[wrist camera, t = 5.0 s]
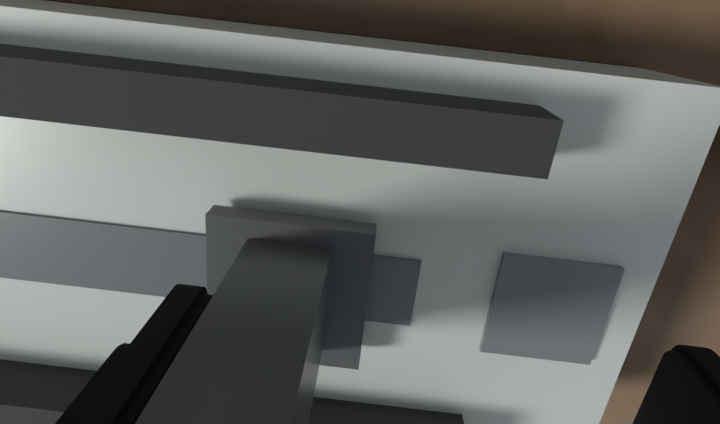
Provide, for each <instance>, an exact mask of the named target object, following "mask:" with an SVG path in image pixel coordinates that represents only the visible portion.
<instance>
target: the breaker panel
mask: <svg viewBox="0 0 720 424" xmlns="http://www.w3.org/2000/svg"><path fill="white" fill-rule="evenodd" d="M0 44H8V45H17V46H25V47H34V48H43V49H52V50H60V51H69V52H78V53H87V54H95V55H104V56H113V57H122V58H130V59H139V60H148V61H157V62H165V63H174V64H183V65H192V66H200V67H209V68H218V69H227V70H235V71H244V72H253V73H262V74H270V75H279V76H288V77H296V78H305V79H314V80H323V81H331V82H340V83H349V84H358V85H366V86H375V87H384V88H393V89H401V90H410V91H419V92H428V93H436V94H445V95H454V96H463V97H471V98H480V99H489V100H498V101H506V102H515V103H524V104H533V105H540V106H541V107H543V108H545V109H546V110H548V111H549V112H551V113H553V114H554V115H556V116H557V117H559V118H560V119H562V120H564V122H563V125H562V129H561V133H560V136H559V140H558V144H557V147H556V151H555V155H554V158H553V162H552V166H551V169H550V173H549V177H548V179H540V178H531V177H522V176H514V175H505V174H496V173H488V172H479V171H470V170H462V169H453V168H445V167H436V166H427V165H419V164H410V163H401V162H393V161H384V160H375V159H367V158H358V157H349V156H341V155H332V154H323V153H315V152H306V151H298V150H289V149H280V148H272V147H263V146H254V145H246V144H237V143H228V142H220V141H211V140H202V139H194V138H185V137H176V136H168V135H159V134H150V133H142V132H133V131H125V130H116V129H107V128H99V127H90V126H81V125H73V124H64V123H55V122H47V121H38V120H29V119H21V118H12V117H3V116H0V359H3V360H11V361H19V362H28V363H36V364H44V365H53V366H61V367H69V368H78V369H86V370H94V371H98V369H99V368H100V367H101V366H102V364H103V363H104V362H105V361H106V359H107V358H108V357H109V356H110V354H111V353H112V352H113V351H114V350H115V349H116V348H117V347H118V346H119V345H121V344H123V343H129V344H130V343H131V342H132V340H133V339H134V338H135V337H136V335H137V334H138V333H139V331H140V330H141V329H142V328H143V326H144V325H145V324H146V322H147V321H148V320H149V318H150V317H151V316H152V315H153V313H154V312H155V311H156V309H157V308H158V307H159V305H160V304H161V303H162V302H163V300H164V299H165V298H166V296H167V295H168V294H169V292H170V291H171V290H172V289H173V287H174V286H175V285H176V284H186V285H194V286H203V287H205V288H206V289H207V259H206V220H205V214H206V213H207V212H208V211H209V210H210V209H211V208H212V206H213V205H220V206H228V207H237V208H245V209H254V210H263V211H271V212H280V213H288V214H297V215H305V216H314V217H323V218H331V219H340V220H348V221H357V222H365V223H374V224H377V226H376V239H375V247H374V254H373V262H372V270H371V277H370V285H369V293H368V300H367V308H366V316H365V323H364V331H363V339H362V347H361V354H360V362H359V370H356V369H348V368H340V367H331V366H323V365H319V370H318V376H317V381H316V386H315V391H314V397H320V398H328V399H336V400H345V401H353V402H362V403H370V404H378V405H387V406H395V407H403V408H412V409H420V410H428V411H437V412H445V413H453V414H462V416H463V421H464V424H599V422H600V420H601V417H602V415H603V413H604V410H605V408H606V405H607V403H608V400H609V398H610V395H611V393H612V390H613V388H614V385H615V383H616V380H617V378H618V375H619V373H620V370H621V368H622V365H623V363H624V360H625V358H626V355H627V353H628V350H629V348H630V346H631V343H632V341H633V338H634V336H635V333H636V331H637V328H638V326H639V323H640V321H641V318H642V316H643V313H644V311H645V308H646V306H647V303H648V301H649V298H650V296H651V293H652V291H653V288H654V286H655V284H656V281H657V279H658V276H659V274H660V271H661V269H662V266H663V264H664V261H665V259H666V256H667V254H668V251H669V249H670V246H671V244H672V241H673V239H674V236H675V234H676V231H677V229H678V226H679V224H680V221H681V219H682V217H683V214H684V212H685V209H686V207H687V204H688V202H689V199H690V197H691V194H692V192H693V189H694V187H695V184H696V182H697V179H698V177H699V174H700V172H701V169H702V167H703V164H704V162H705V159H706V157H707V155H708V152H709V150H710V147H711V145H712V142H713V140H714V137H715V135H716V132H717V130H718V127H719V125H720V86H717V85H713V84H709V83H704V82H700V81H696V80H691V79H687V78H683V77H678V76H674V75H670V74H665V73H661V72H657V71H652V70H648V69H644V68H636V67H627V66H618V65H609V64H601V63H592V62H583V61H574V60H565V59H557V58H548V57H539V56H530V55H521V54H513V53H504V52H495V51H486V50H477V49H469V48H460V47H451V46H442V45H433V44H425V43H416V42H407V41H398V40H389V39H381V38H372V37H363V36H354V35H345V34H336V33H328V32H319V31H310V30H301V29H292V28H284V27H275V26H266V25H257V24H248V23H240V22H231V21H222V20H213V19H204V18H196V17H187V16H178V15H169V14H160V13H152V12H143V11H134V10H125V9H116V8H108V7H99V6H90V5H81V4H72V3H64V2H55V1H46V0H0Z"/></svg>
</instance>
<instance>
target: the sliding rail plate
mask: <svg viewBox="0 0 720 424" xmlns="http://www.w3.org/2000/svg"><path fill="white" fill-rule="evenodd" d="M0 116H3V117H12V118H21V119H29V120H38V121H47V122H55V123H64V124H73V125H81V126H90V127H99V128H107V129H116V130H125V131H133V132H142V133H150V134H159V135H168V136H176V137H185V138H194V139H202V140H211V141H220V142H228V143H237V144H246V145H254V146H263V147H272V148H280V149H289V150H298V151H306V152H315V153H323V154H332V155H341V156H349V157H358V158H367V159H375V160H384V161H393V162H401V163H410V164H419V165H427V166H436V167H445V168H453V169H462V170H470V171H479V172H488V173H496V174H505V175H514V176H522V177H531V178H540V179H548V177H549V173H550V169H551V166H552V162H553V158H554V155H555V151H556V147H557V144H558V140H559V136H560V133H561V129H562V125H563V122H564V120H562V119H560V118H559V117H557V116H556V115H554V114H553V113H551V112H549V111H548V110H546V109H545V108H543V107H541V106H540V105H533V104H524V103H515V102H506V101H498V100H489V99H480V98H471V97H463V96H454V95H445V94H436V93H428V92H419V91H410V90H401V89H393V88H384V87H375V86H366V85H358V84H349V83H340V82H331V81H323V80H314V79H305V78H296V77H288V76H279V75H270V74H262V73H253V72H244V71H235V70H227V69H218V68H209V67H200V66H192V65H183V64H174V63H165V62H157V61H148V60H139V59H130V58H122V57H113V56H104V55H95V54H87V53H78V52H69V51H60V50H52V49H43V48H34V47H25V46H17V45H8V44H0ZM96 372H97V371H94V370H86V369H78V368H69V367H61V366H53V365H44V364H36V363H28V362H19V361H11V360H3V359H0V424H55V423H56V422H57V420H58V419H59V418H60V417H61V415H62V414H63V413H64V412H65V410H66V409H67V408H68V407H69V405H70V404H71V403H72V402H73V400H74V399H75V398H76V397H77V395H78V394H79V393H80V392H81V391H82V389H83V388H84V387H85V386H86V384H87V383H88V382H89V381H90V379H91V378H92V377H93V376H94V374H95V373H96ZM308 424H464V421H463V416H462V414H453V413H445V412H437V411H428V410H420V409H412V408H403V407H395V406H387V405H378V404H370V403H362V402H353V401H345V400H336V399H328V398H320V397H313V402H312V407H311V412H310V417H309V423H308Z"/></svg>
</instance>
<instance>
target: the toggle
mask: <svg viewBox="0 0 720 424" xmlns="http://www.w3.org/2000/svg"><path fill="white" fill-rule="evenodd" d="M205 220H206V259H207V294H210V295H213V296H212V298H211V300H210V301H209V303H208V305H207V306H206V308H205V309H204V311H203V313H202V314H201V316H200V318H199V319H198V321H197V323H196V324H195V326H194V327H193V329H192V331H191V332H190V334H189V336H188V337H187V339H186V341H185V342H184V344H183V346H182V347H181V349H180V350H179V352H178V354H177V355H176V357H175V359H174V360H173V362H172V364H171V365H170V367H169V368H168V370H167V372H166V373H165V375H164V377H163V378H162V380H161V382H160V383H159V385H158V387H157V388H156V390H155V391H154V393H153V395H152V396H151V398H150V400H149V401H148V403H147V405H146V406H145V408H144V409H143V411H142V413H141V414H140V416H139V418H138V419H137V421H136V423H135V424H308V423H309V417H310V412H311V407H312V402H313V397H314V391H315V386H316V381H317V376H318V370H319V365H323V366H331V367H340V368H348V369H356V370H359V362H360V354H361V347H362V339H363V331H364V323H365V316H366V308H367V300H368V293H369V285H370V277H371V270H372V262H373V254H374V247H375V239H376V226H377V224H374V223H365V222H357V221H348V220H340V219H331V218H323V217H314V216H305V215H297V214H288V213H280V212H271V211H263V210H254V209H245V208H237V207H228V206H220V205H213V206H212V208H211V209H210V210H209V211H208V212H207V213H206V214H205Z"/></svg>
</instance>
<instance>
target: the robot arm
mask: <svg viewBox="0 0 720 424" xmlns="http://www.w3.org/2000/svg"><path fill="white" fill-rule="evenodd" d="M212 296H213V295H210V294H207V289H206V288H205V287H203V286H194V285H186V284H176V285H175V286H174V287H173V289H172V290H171V291H170V292H169V294H168V295H167V296H166V298H165V299H164V300H163V302H162V303H161V304H160V305H159V307H158V308H157V309H156V311H155V312H154V313H153V315H152V316H151V317H150V318H149V320H148V321H147V322H146V324H145V325H144V326H143V328H142V329H141V330H140V331H139V333H138V334H137V335H136V337H135V338H134V339H133V340H132V342H131V343H130V344H129V343H123V344H121V345H119V346H118V347H117V348H116V349H115V350H114V351H113V352H112V353H111V354H110V356H109V357H108V358H107V359H106V361H105V362H104V363H103V364H102V366H101V367H100V368H99V369H98V371H97V372H96V373H95V374H94V376H93V377H92V378H91V379H90V381H89V382H88V383H87V384H86V386H85V387H84V388H83V389H82V391H81V392H80V393H79V394H78V395H77V397H76V398H75V399H74V400H73V402H72V403H71V404H70V405H69V407H68V408H67V409H66V410H65V412H64V413H63V414H62V415H61V417H60V418H59V419H58V420H57V422H56V423H55V424H135V423H136V421H137V419H138V418H139V416H140V414H141V413H142V411H143V409H144V408H145V406H146V405H147V403H148V401H149V400H150V398H151V396H152V395H153V393H154V391H155V390H156V388H157V387H158V385H159V383H160V382H161V380H162V378H163V377H164V375H165V373H166V372H167V370H168V368H169V367H170V365H171V364H172V362H173V360H174V359H175V357H176V355H177V354H178V352H179V350H180V349H181V347H182V346H183V344H184V342H185V341H186V339H187V337H188V336H189V334H190V332H191V331H192V329H193V327H194V326H195V324H196V323H197V321H198V319H199V318H200V316H201V314H202V313H203V311H204V309H205V308H206V306H207V305H208V303H209V301H210V300H211V298H212ZM633 424H720V357H719V356H718V355H717V354H716V353H715V352H714V351H712V350H711V349H708V348H703V347H694V346H686V345H676V346H675V347H673V348H672V350H671V351H667V352H666V353H664V355H663V357H662V359H661V361H660V363H659V366H658V368H657V370H656V372H655V375H654V377H653V379H652V381H651V384H650V386H649V388H648V390H647V393H646V395H645V397H644V399H643V402H642V404H641V406H640V408H639V411H638V413H637V415H636V417H635V420H634V422H633Z"/></svg>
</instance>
